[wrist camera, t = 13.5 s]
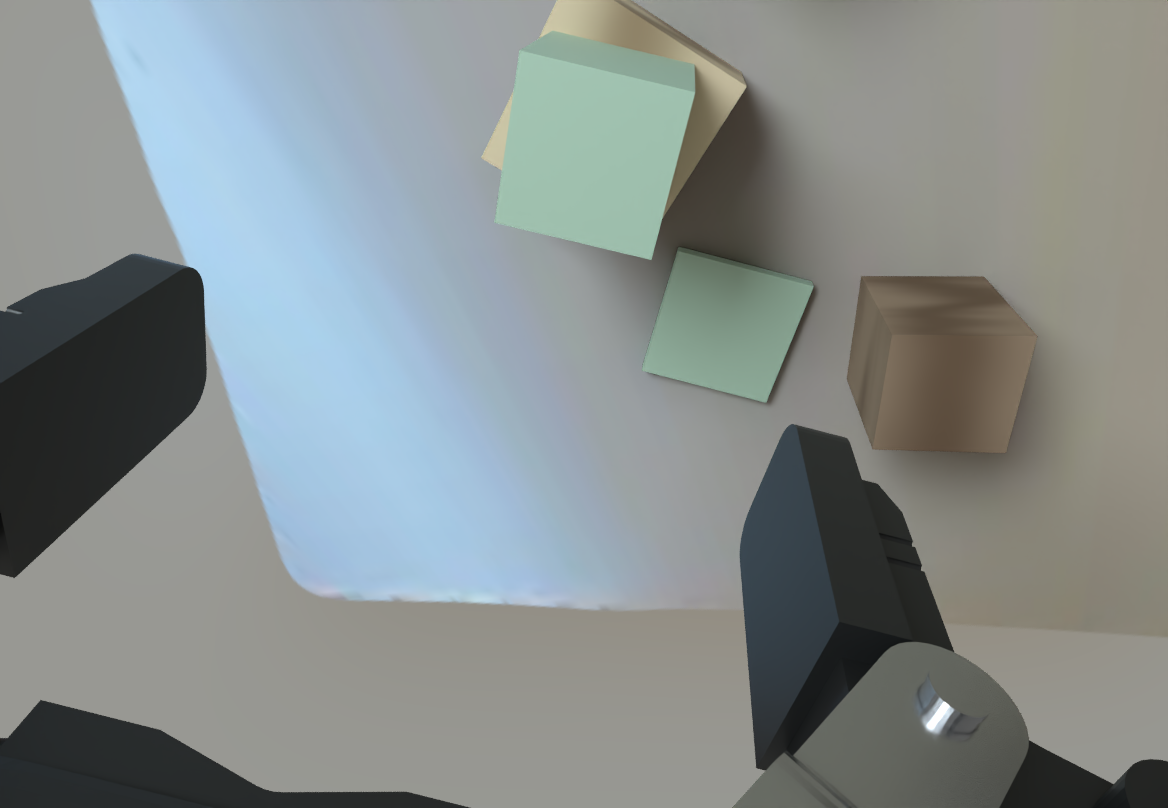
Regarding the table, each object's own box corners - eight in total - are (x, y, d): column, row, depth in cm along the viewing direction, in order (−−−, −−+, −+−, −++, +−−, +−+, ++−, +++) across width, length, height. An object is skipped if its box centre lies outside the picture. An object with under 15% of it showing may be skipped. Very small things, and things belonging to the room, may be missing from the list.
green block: (694, 64, 27) (695, 92, 22) (658, 205, 29) (651, 259, 24) (552, 30, 27) (519, 50, 22) (528, 174, 29) (494, 222, 24)
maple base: (740, 71, 30) (746, 86, 27) (645, 221, 34) (640, 252, 30) (584, -31, 29) (570, -28, 26) (503, 135, 33) (481, 158, 29)
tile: (812, 281, 34) (813, 286, 33) (765, 396, 37) (766, 402, 36) (678, 246, 34) (678, 251, 33) (642, 364, 37) (642, 370, 36)
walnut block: (983, 276, 33) (1037, 336, 28) (959, 380, 36) (1006, 453, 30) (861, 276, 34) (892, 334, 28) (846, 378, 36) (872, 449, 31)
